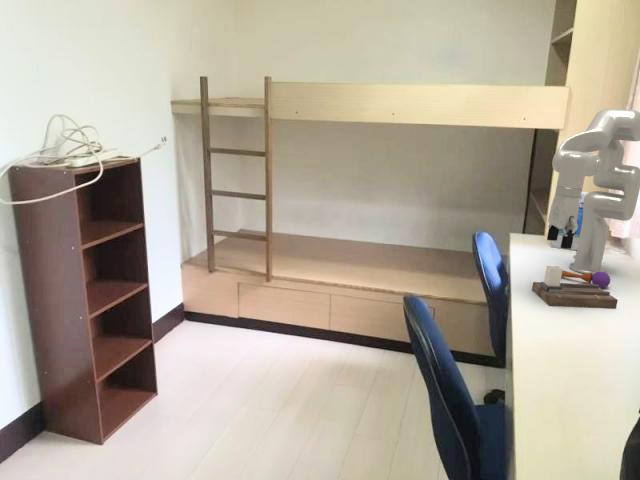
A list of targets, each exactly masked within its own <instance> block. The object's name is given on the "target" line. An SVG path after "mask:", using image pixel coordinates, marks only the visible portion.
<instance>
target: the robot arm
mask: <svg viewBox="0 0 640 480" xmlns="http://www.w3.org/2000/svg"><path fill="white" fill-rule="evenodd" d="M621 141H625V142H626V141H627V142H640V112H639V111H637V110H635V109H623V108H622V109H620V108H605V109H600V110H599V111H597V113H596V114H595V116H594V117H593V118H592V120H591V122H590V123H589V125H588V126H587V128H586V130H585V131H581V132H580V133H577V134H575V135H573V136H570V137H568V138H566V139H565V140H564V141H563V142H561V144H560V145H559V147H558V148H557V149H556V152H555V154H554V155H553V157H552V161H551V162H552V163H551V165H552V169H553V170H554V171H555V172H557V173H558V177H557V181H556V187H555V191H554V192H555V193H554V197H553V200H552V202H551V206H550V210H549V214H548V219H547V221H548V223H549V224H548V232H547V238H546V240H548V241H551V240H553V241H556V240H557V237H558V232H559V229H562V228H563V231H564V236H563V237H562V242H561V248H564V249H563V250H568V249H571V247H572V241H573V237H574V236H575V233H576V230H577V229H578V224H577V218H578V210H579V199H580V198H581V193H582V192H583V188H584V183H585V177H593V178H592V179H593V180H592V184H594V186H596V187H598V188H602V189H607V190H612V191H613V190H614V191H619V192H622V193H623V194H620V193H613V192H607V191H601V190H594V191H590V192H589V191H588V192H589V193H588V194H586V196H585V198H584V201H583V220H582V226H581V231H580V236H579V241H578V246H577V251H575V255H573V256H572V257H573V259H574V262H570V263H569V266H568V267H569V269H571V270H572V271H575V272H577V273H581V274H583V275H584V274H588V273H592V276H593V274H595V273H596V272H600V271H601V272H605V269H604V268H603V267H602V263H603V259H604V255H605V254H604V253H605V250H606V249H605V248H606V244H607V239H608V234H609V226H608V223H607V222H606V219H611V220H616V221H617V220H618V221H622V222H623V221H625V222H627V221H629V220H631V219H632V218H633V216H634V213H635V211H636V207H637V202H638V198H639V194H640V168H639V167H638V166H634V165H627V164H623V161H624V155H625V148H624V146H623V144H622V143H621ZM597 151H598V153H597V154H596V153H593V152H597ZM557 228H559V229H557ZM567 230H569V231H568V232H567ZM561 248H560V249H561ZM605 273H606V272H605Z"/></svg>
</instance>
